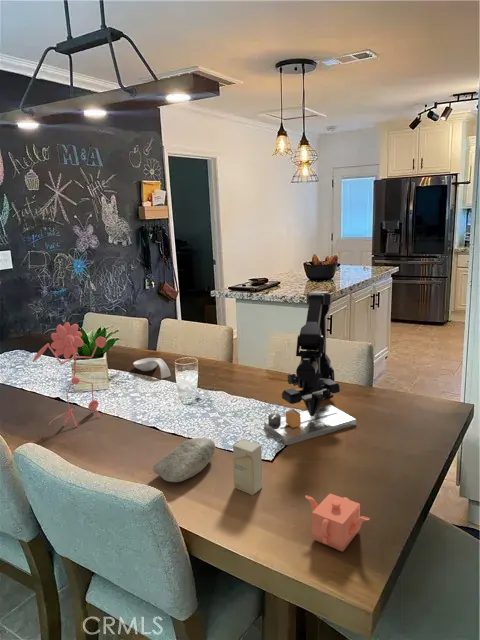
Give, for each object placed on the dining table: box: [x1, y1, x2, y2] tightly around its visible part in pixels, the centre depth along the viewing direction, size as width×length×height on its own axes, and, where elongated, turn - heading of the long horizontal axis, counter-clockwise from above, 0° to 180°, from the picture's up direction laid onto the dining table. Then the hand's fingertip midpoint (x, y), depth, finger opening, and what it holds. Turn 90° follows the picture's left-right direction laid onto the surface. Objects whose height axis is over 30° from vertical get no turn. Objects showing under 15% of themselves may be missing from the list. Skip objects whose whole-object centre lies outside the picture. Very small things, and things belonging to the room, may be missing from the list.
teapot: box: [304, 493, 370, 552], centre depth 103 cm, size 12×15×8 cm
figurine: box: [32, 321, 115, 428], centre depth 167 cm, size 15×26×35 cm, turn 141°
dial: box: [267, 413, 282, 425], centre depth 154 cm, size 4×4×2 cm
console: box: [263, 404, 357, 446], centre depth 155 cm, size 26×14×2 cm, turn 116°
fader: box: [285, 409, 301, 428], centre depth 152 cm, size 3×4×4 cm
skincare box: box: [232, 438, 263, 496], centre depth 122 cm, size 6×4×12 cm
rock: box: [152, 437, 217, 483], centre depth 132 cm, size 8×11×20 cm
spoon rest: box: [132, 357, 172, 379], centre depth 215 cm, size 24×12×7 cm, turn 40°
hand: (311, 415), depth 155 cm, fingers closed
